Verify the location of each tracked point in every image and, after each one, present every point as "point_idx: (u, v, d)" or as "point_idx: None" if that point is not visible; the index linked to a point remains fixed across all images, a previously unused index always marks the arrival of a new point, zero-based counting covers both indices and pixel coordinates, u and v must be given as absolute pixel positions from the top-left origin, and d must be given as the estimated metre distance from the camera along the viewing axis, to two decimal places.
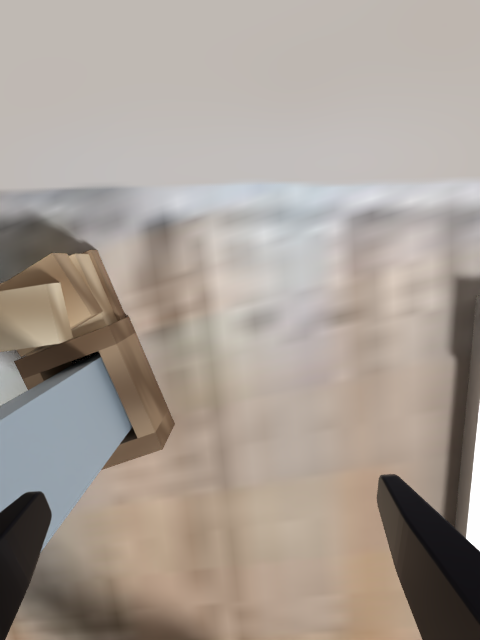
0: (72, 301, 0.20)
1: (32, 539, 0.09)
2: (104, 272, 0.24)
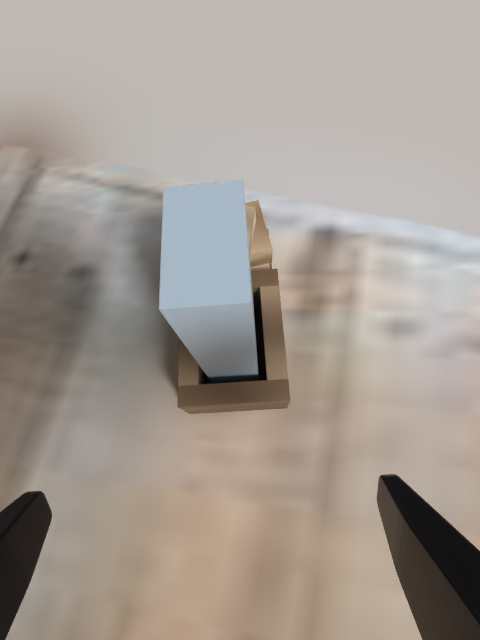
0: (260, 235, 0.23)
1: (32, 539, 0.09)
2: None
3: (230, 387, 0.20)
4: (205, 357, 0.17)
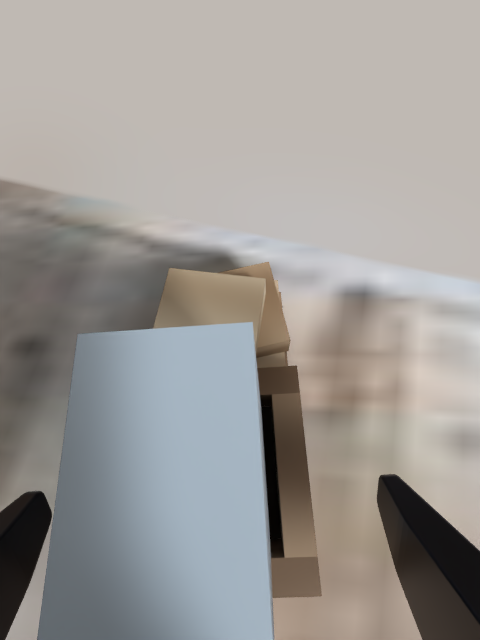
0: (272, 317, 0.16)
1: (32, 539, 0.09)
2: None
3: None
4: None
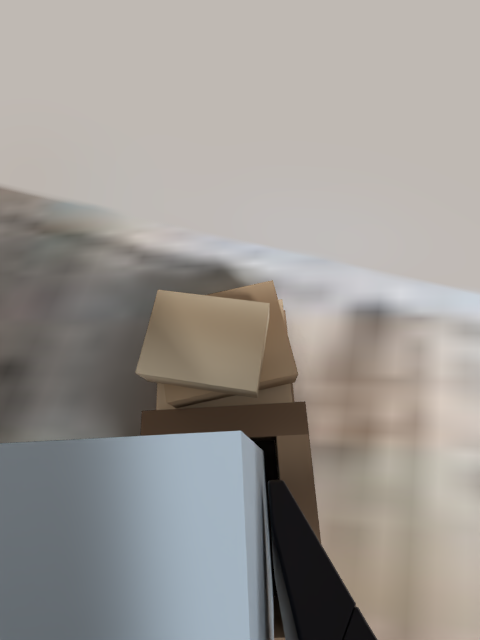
0: (277, 346, 0.14)
1: None
2: None
3: None
4: None
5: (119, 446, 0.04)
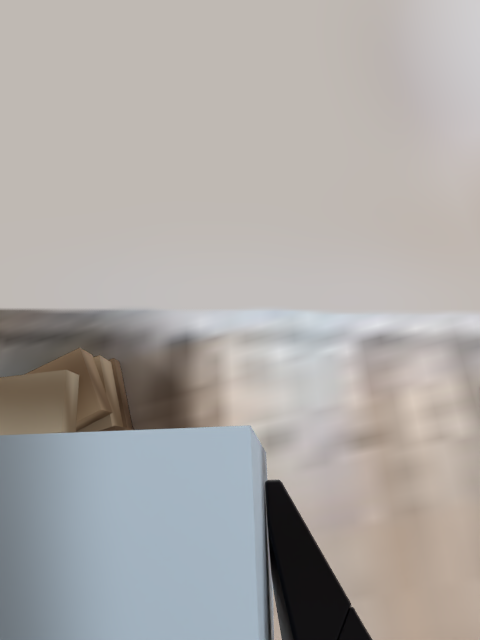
0: (85, 394, 0.20)
1: None
2: (121, 382, 0.24)
3: None
4: None
5: (131, 439, 0.04)
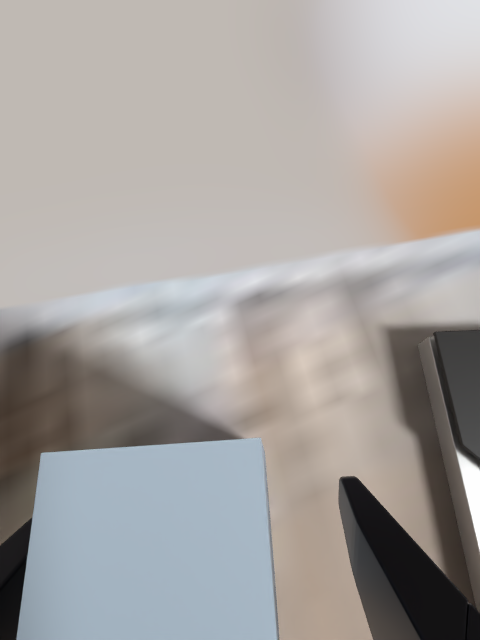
0: None
1: None
2: None
3: None
4: None
5: (161, 452, 0.05)
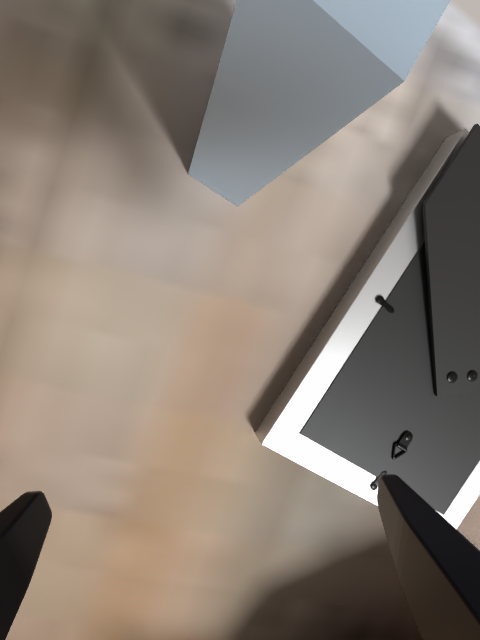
0: None
1: (32, 539, 0.09)
2: None
3: None
4: (219, 126, 0.11)
5: None
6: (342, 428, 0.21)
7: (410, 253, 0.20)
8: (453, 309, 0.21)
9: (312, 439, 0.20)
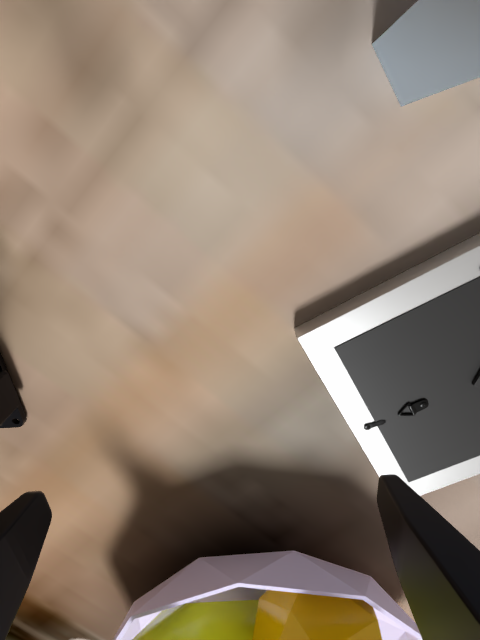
0: None
1: (32, 539, 0.09)
2: None
3: None
4: None
5: None
6: (372, 364, 0.21)
7: None
8: None
9: (342, 358, 0.21)
